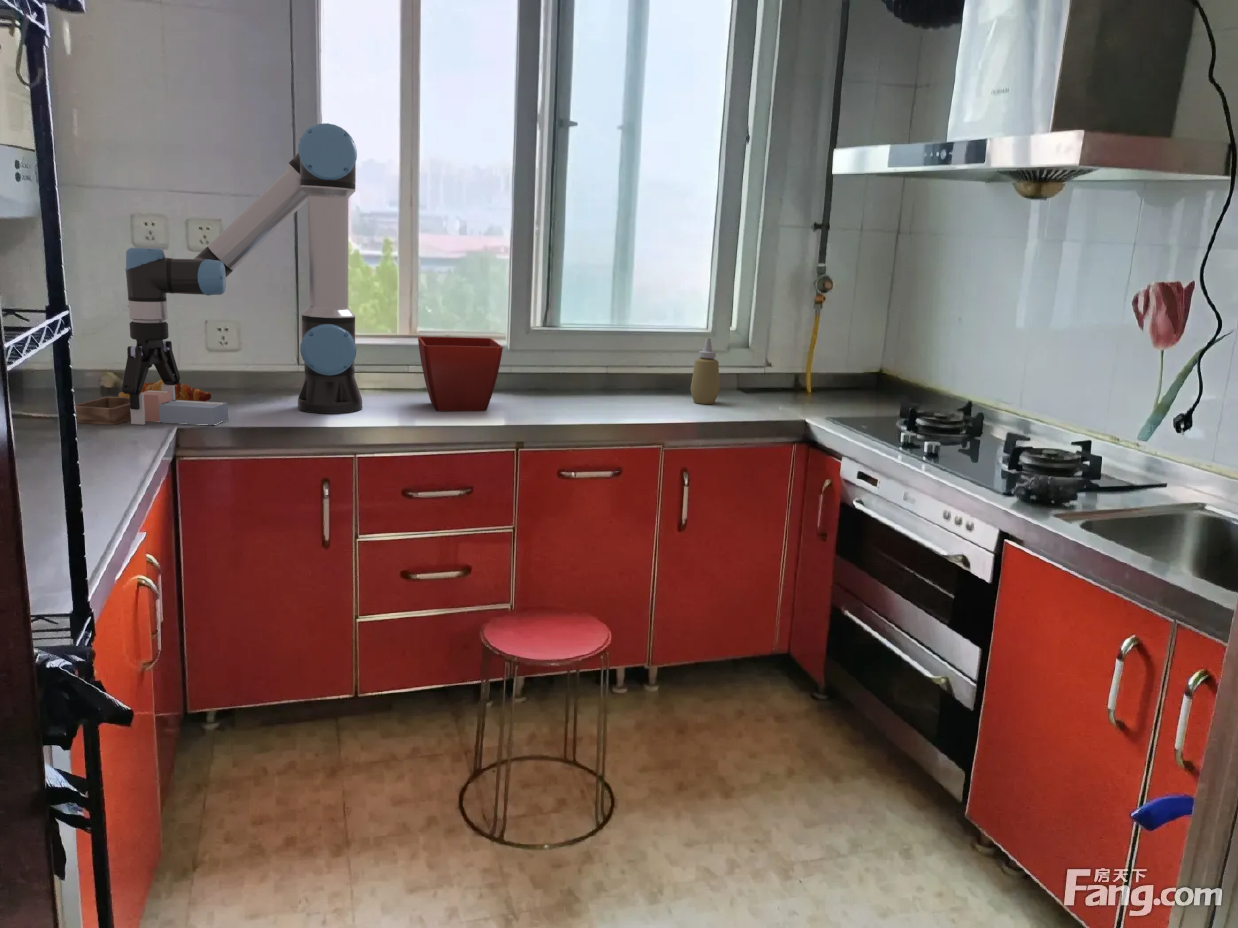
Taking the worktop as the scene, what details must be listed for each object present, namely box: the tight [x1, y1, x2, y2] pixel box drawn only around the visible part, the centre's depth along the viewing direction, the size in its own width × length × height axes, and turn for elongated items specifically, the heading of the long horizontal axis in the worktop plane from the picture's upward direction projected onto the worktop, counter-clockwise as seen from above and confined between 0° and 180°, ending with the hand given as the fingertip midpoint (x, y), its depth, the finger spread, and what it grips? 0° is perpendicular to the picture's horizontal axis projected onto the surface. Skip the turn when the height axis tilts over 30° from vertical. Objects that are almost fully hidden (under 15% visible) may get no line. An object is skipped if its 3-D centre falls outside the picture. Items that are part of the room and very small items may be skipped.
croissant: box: [117, 378, 212, 402], centre depth 232 cm, size 21×10×8 cm, turn 99°
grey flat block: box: [159, 400, 229, 425], centre depth 213 cm, size 12×7×4 cm, turn 86°
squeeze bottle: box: [690, 338, 720, 405], centre depth 270 cm, size 8×8×18 cm
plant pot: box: [417, 336, 504, 412], centre depth 245 cm, size 19×19×17 cm
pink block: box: [141, 390, 171, 421], centre depth 214 cm, size 5×5×6 cm
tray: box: [75, 395, 131, 426], centre depth 213 cm, size 10×14×3 cm
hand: (154, 418), depth 214 cm, fingers open, 12 cm apart
